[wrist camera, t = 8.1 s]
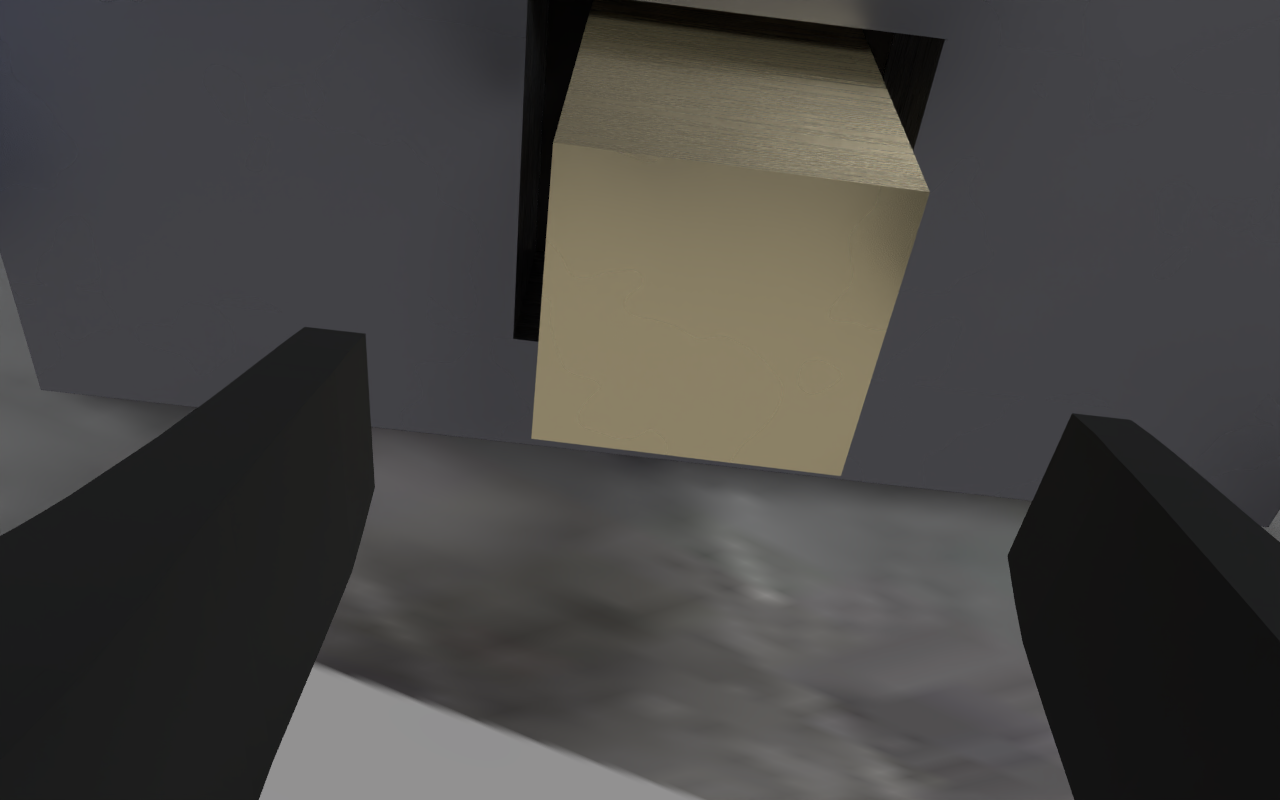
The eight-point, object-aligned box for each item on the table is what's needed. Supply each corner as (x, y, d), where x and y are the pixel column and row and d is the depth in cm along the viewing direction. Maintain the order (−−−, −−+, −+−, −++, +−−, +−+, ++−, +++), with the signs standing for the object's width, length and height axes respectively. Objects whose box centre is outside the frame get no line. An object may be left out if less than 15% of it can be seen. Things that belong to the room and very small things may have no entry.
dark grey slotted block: (117, 301, 20) (41, 389, 18) (-20, -307, 15) (-161, -295, 12) (1202, 425, 21) (1268, 527, 19) (1497, -107, 15) (1648, -59, 13)
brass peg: (580, 197, 19) (531, 438, 13) (602, -33, 16) (553, 141, 11) (797, 225, 19) (841, 475, 13) (850, 1, 17) (930, 191, 11)
